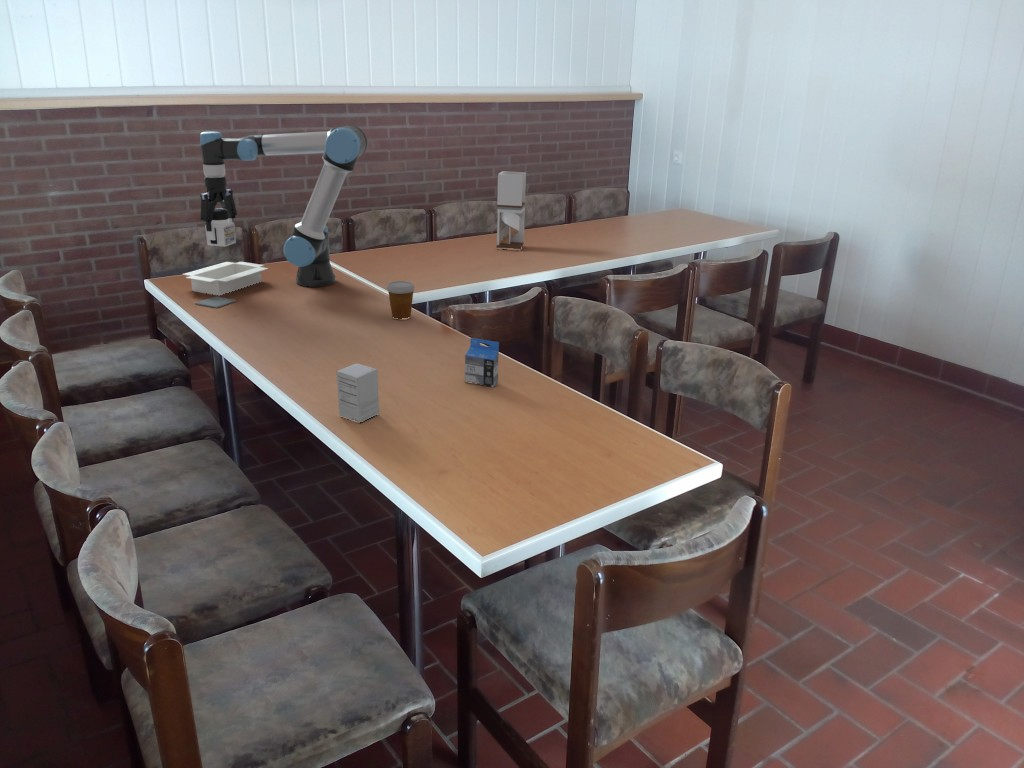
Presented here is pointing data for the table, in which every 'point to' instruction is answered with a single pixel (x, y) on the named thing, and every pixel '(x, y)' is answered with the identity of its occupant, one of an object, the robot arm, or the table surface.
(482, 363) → the label tape cartridge
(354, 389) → the grey drawer cabinet
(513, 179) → the white hollow stand
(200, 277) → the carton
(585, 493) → the table surface
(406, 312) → the disposable coffee cup
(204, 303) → the mat
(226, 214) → the container
